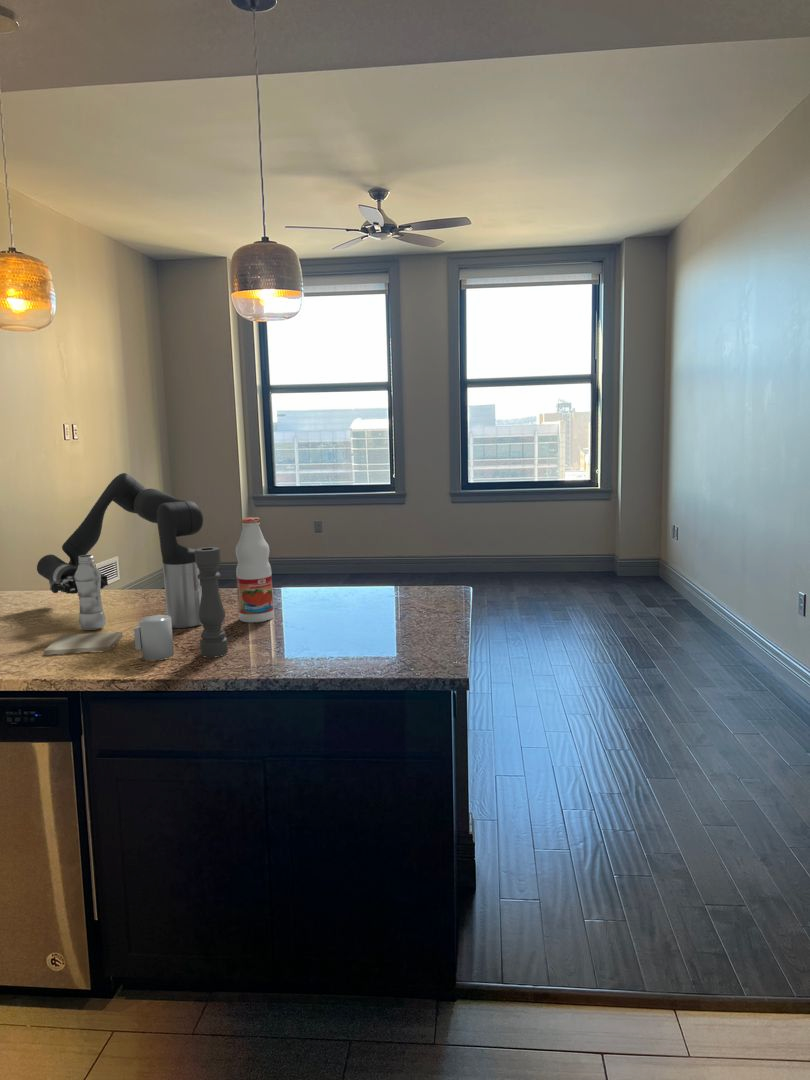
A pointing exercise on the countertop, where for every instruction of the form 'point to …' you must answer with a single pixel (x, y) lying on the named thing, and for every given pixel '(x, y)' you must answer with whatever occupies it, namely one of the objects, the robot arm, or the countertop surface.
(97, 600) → the plastic bottle
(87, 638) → the plain beige board
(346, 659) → the countertop surface
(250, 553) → the fruit juice
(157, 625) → the grey mug
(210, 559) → the candle holder
